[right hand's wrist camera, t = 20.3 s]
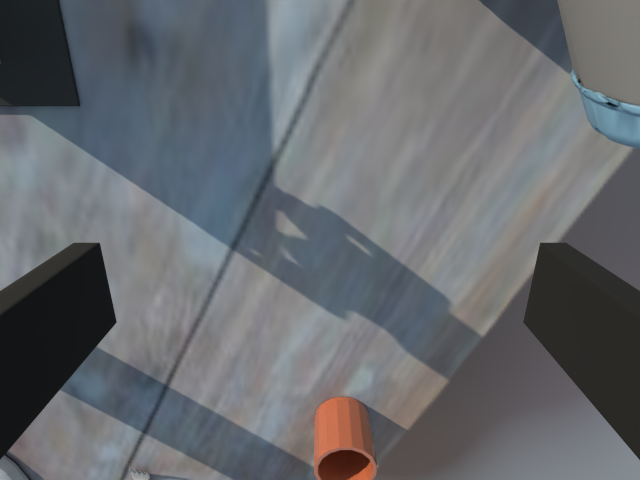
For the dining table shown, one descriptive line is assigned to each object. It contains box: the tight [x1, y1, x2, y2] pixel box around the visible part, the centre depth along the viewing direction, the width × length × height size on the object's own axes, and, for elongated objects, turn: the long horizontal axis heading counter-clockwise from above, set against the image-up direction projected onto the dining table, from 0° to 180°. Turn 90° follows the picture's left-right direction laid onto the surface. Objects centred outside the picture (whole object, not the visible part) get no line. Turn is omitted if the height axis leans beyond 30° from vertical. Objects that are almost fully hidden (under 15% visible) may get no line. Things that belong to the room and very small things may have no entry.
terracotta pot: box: [314, 397, 377, 480], centre depth 52 cm, size 7×7×8 cm
